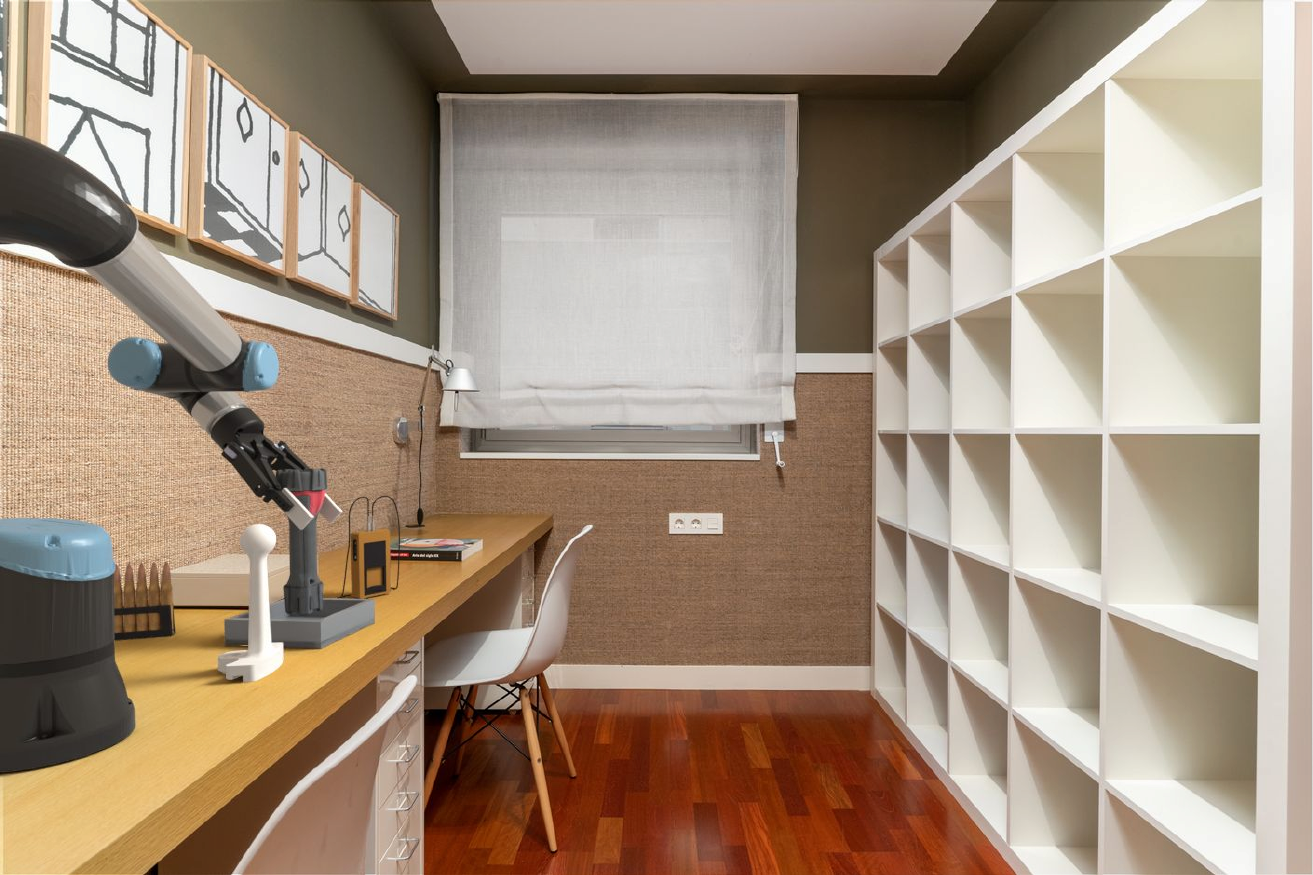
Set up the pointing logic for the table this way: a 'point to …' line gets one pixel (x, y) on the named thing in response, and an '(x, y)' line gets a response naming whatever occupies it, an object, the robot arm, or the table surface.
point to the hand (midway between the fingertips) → (322, 520)
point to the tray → (307, 623)
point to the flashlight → (304, 541)
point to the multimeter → (370, 559)
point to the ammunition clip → (143, 604)
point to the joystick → (255, 614)
